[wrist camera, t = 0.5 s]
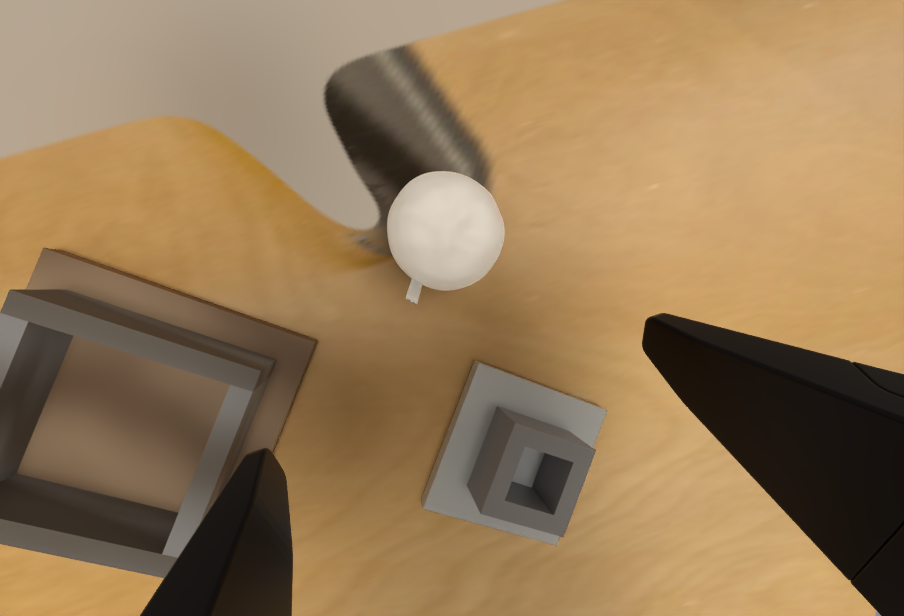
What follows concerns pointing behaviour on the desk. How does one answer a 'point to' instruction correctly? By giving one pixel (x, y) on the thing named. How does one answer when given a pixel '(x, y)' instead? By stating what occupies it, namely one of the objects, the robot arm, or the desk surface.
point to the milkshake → (444, 232)
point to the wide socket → (129, 411)
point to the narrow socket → (514, 455)
